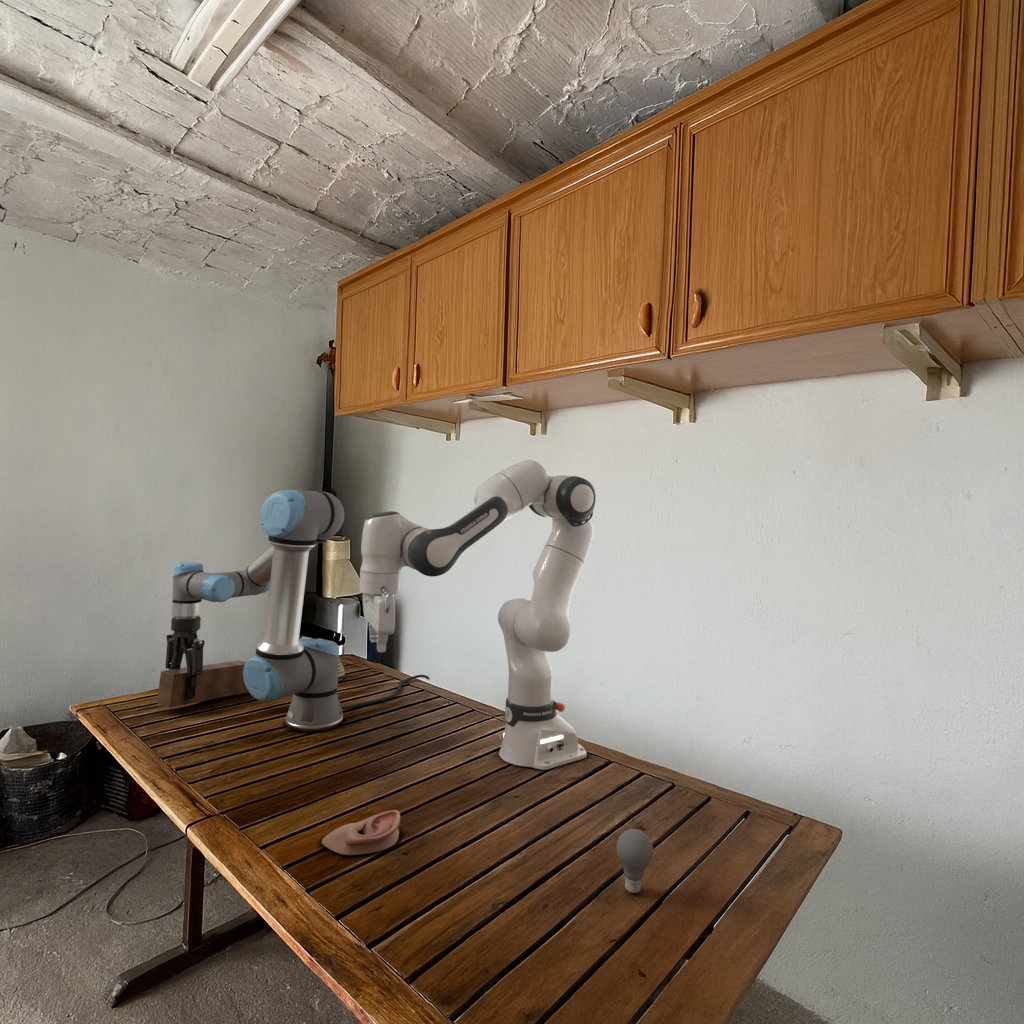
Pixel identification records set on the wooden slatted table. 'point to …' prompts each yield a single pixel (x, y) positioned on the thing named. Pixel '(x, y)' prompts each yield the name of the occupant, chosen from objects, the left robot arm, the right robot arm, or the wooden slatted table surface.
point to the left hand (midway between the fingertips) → (182, 696)
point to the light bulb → (634, 857)
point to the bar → (202, 683)
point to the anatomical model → (365, 835)
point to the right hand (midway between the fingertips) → (377, 646)
